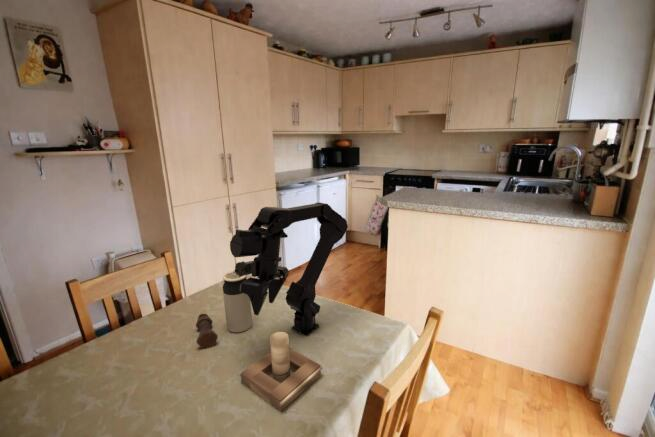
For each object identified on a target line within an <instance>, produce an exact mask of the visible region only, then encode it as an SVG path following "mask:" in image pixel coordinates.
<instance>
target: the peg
mask: <svg viewBox="0 0 655 437" xmlns="http://www.w3.org/2000/svg"><path fill="white" fill-rule="evenodd" d="M269 338H270V339H269V340H270V344H269V345H270V352H271V358H272V378H273V379H274V380H276V381H277V382H279V383H280V384H281V383H282V382H283V381H285V380H286V379H287V378H288V377H289V376H291V370H290V357H289V348H290V344H289V342H290V340H289V334H288V333H287V332H285V331H277V332H274V333H272V334H271V335H270V337H269Z"/></svg>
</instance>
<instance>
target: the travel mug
mask: <svg viewBox="0 0 655 437" xmlns="http://www.w3.org/2000/svg"><path fill="white" fill-rule="evenodd" d="M247 276H248V275H244V276H242V277H239V275H237V274H236V273H235V272H234V270H232V271H229V272H226V273H224V274H223V275H222V280H223V284H222V293H223V301H224V313H225V322H226V329H227V330H228V331H229V332H231V333H241V332H245V331H247V330H249V329H250V328H251V327H252V326H253V318H252V317H253V316H252V304H251V301H250V298H249V296H248V295H247V294H244V293H243V292H240V284H241V283H242V282H243V281H244V280H246V279H247Z"/></svg>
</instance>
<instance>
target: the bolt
mask: <svg viewBox="0 0 655 437" xmlns="http://www.w3.org/2000/svg"><path fill="white" fill-rule="evenodd" d="M212 325H213V320H212V318H210V317H209V315H208V314H207V313H201V314H199V315H198V316H197V321H196V324H195V327H196V328H197V330H199V334H198V337H197V338H196V344H197V345H198V346H199V347H200V348H201V349H210V348H213V347H214V346H215V345H216V343H217V340H218V337H219V336H218V334H217V333H216V332H215V331H214V330H213V329H212Z"/></svg>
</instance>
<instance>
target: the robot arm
mask: <svg viewBox="0 0 655 437" xmlns="http://www.w3.org/2000/svg"><path fill="white" fill-rule="evenodd" d="M312 219H316V220H317V222H318V223H319V224H320V226H319V240H318V242H317V244H316V245H315V246H316V247H315V248H314V250H313V252H312V254H311V257H310V258H309V261H308V263H307V265H306V267H305V269H304V271H303V273H302V275H301V278H300V279H299V280H297V281H296V282H295V281H292V282H291V283H290V285H289V288H288V289H287V291H286V292H285V294H286V296H285V301H286V305H288V306H289V307H290V309H291V310H294V311H295V312H294V318H293V323H294V324H293V325H292V326H291V330H293V331H295V332H297V333H299V334H301V335H303V336H308V335H310V334H311V333H312V332H314V331H315V330H317V329H319V327H320V324H318V323H316V316H317V314H319V313H320V310H321V305H320V304H318V303H317V302H315V299H316V296H317V294H316V285H317V282H318V280H319V279H320V276H321V273H322V272H323V270H324V267H325V265H326V262H327V261H328V258H329V257H330V254H331V252H332V250H333V248H334V246H335V244H337V243H339V242H340V241H341V240H342V239H343V237H344V235H345V234H346V233H347V231H348V228H349V225H348V222H347V219H346V218H344V217H343V216H342V215H341V214H339V213H338V212H337V211H335V209H333V208H332V206H331V205H329V204H328V203H325V202H324V203H323V202H320V201H319V202H314V203H311V204H304V205H299V206H293V207H279V206H277V207H275V206H264V207H262V208H260V211H258V214H257V216H256V217H255V219H254V220H253V222H251V225H250V226H249V227H248V229H246V230H244V229H235V234H234V235H233V236H232V237H231V240H230V243H229V250H230V252H231V253H230V254H231V255H232V256H233V257H234V258H242V257H243V258H244V257H254V258H253V260H250V261H246V262H245V261H243V260H242V261H241V262H240V261H238V262H237V263H236V264H235V266H234V267H235V268H234V270H233V271H234V272H235V273H236V274H237V275H239V277H242V276H244V275H247V276H248V275H251V276H250V277H248V278H246V280H244V281H243V282H242V283H241V284H240V292H243V293H244V294H247V295H248V296H249V298H250V302H251V309H252V311H253V314H254V316H259V314H260V312H261V310H262V308H263V305H264V304H265V301H266V299H267V297H268V303H269V304H273V303H274V301H275V300H276V298H277V296H278V294H279V292H280V291H281V289H282V288H283V286H284V284H285V282H286V281H287V278H289V275H290V274H289V273H290V271H289V269H288V267H287V266H281V265H279V263H280V262H281V261H282V256H280V251H281V241H282V240H281V239H285V238H286V239H287V238H288V236H289V235H288V234H287V233H286V232H285V229H287V228H289V227H290V226H291V225H292V224H294V223H298V222H303V221H307V220H312ZM256 277H257V278H256Z"/></svg>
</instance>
